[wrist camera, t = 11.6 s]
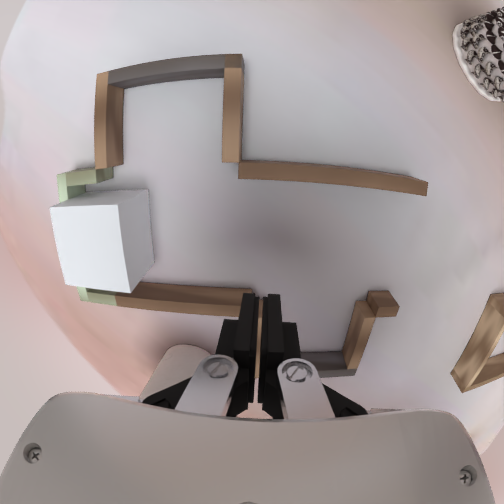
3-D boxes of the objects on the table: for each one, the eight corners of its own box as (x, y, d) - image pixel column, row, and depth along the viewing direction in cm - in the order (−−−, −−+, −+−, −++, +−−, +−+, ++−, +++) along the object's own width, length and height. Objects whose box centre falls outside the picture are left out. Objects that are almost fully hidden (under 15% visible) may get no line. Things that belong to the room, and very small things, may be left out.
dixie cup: (137, 354, 26) (103, 428, 16) (187, 319, 23) (155, 410, 14) (194, 396, 28) (178, 469, 19) (248, 370, 26) (243, 457, 16)
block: (155, 261, 21) (130, 293, 17) (96, 257, 21) (65, 284, 17) (149, 188, 19) (117, 204, 14) (87, 191, 19) (49, 207, 14)
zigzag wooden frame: (366, 356, 25) (372, 373, 22) (110, 342, 25) (101, 357, 23) (415, 91, 15) (432, 87, 13) (75, 90, 15) (57, 87, 13)
